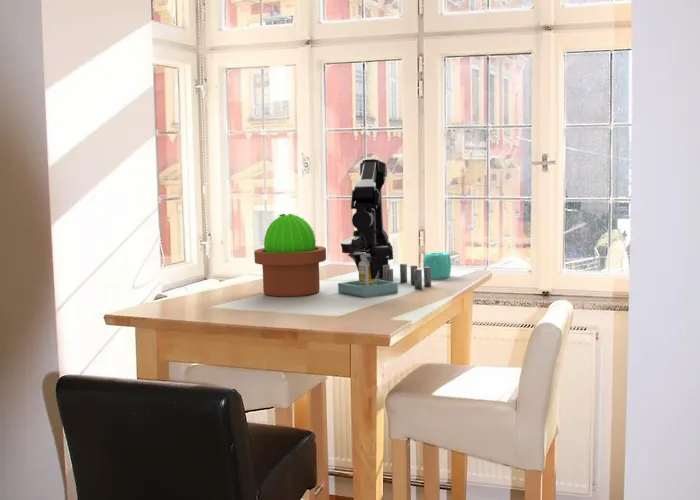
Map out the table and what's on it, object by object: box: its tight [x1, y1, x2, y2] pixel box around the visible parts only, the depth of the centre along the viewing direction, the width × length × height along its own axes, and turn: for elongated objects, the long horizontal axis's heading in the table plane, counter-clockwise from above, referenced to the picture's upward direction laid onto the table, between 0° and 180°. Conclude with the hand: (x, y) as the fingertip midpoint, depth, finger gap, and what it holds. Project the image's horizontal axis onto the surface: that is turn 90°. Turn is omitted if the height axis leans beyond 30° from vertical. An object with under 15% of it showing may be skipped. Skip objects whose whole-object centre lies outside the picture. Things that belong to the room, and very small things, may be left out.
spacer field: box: [376, 263, 432, 290], centre depth 282 cm, size 18×14×6 cm
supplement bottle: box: [358, 254, 377, 287], centre depth 271 cm, size 5×5×10 cm
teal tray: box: [337, 279, 399, 299], centre depth 272 cm, size 13×13×3 cm
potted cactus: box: [253, 213, 327, 298], centre depth 275 cm, size 22×22×25 cm
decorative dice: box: [423, 252, 452, 280], centre depth 300 cm, size 8×8×8 cm
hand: (367, 277), depth 271 cm, fingers closed on supplement bottle, 5 cm apart
